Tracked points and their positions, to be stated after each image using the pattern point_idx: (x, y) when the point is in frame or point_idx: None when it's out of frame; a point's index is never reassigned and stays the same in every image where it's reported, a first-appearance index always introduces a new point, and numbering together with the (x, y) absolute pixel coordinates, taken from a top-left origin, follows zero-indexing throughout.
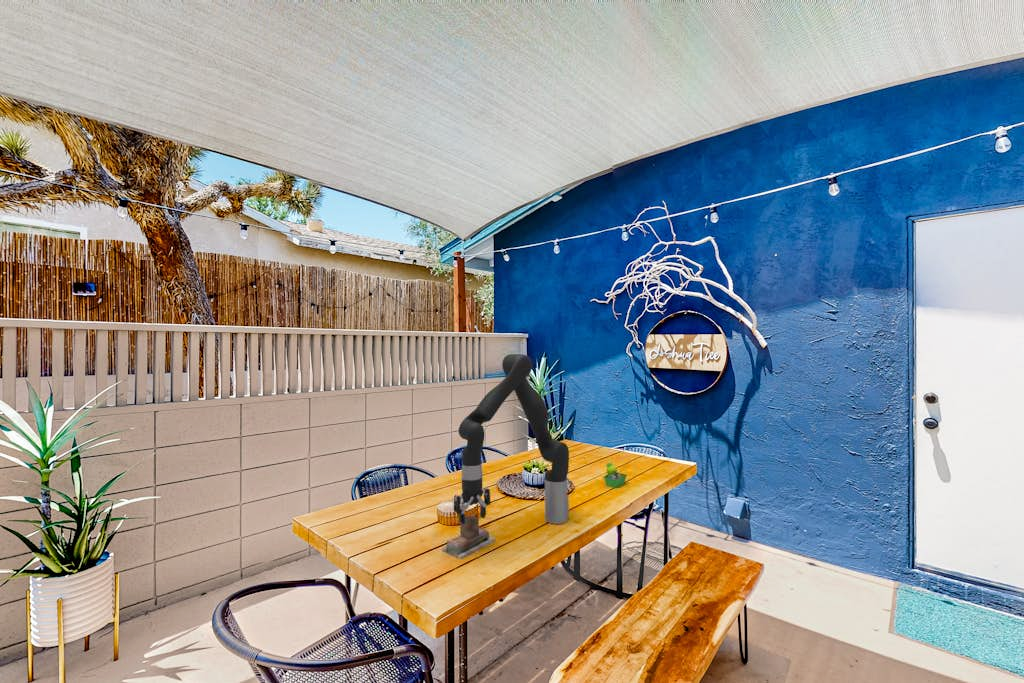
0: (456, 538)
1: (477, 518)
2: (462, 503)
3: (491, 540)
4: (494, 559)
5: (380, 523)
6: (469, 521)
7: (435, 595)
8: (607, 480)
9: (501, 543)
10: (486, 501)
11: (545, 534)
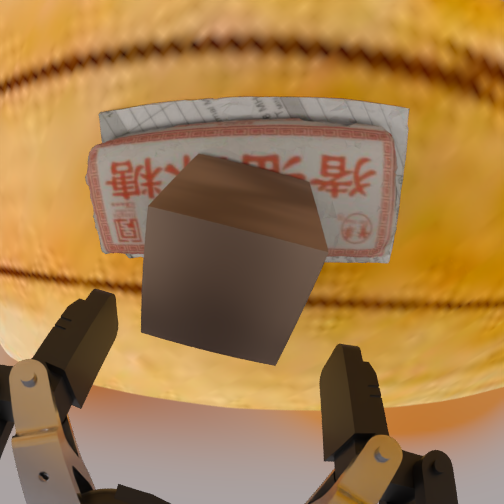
0: (143, 177)
1: (280, 352)
2: (29, 472)
3: (360, 261)
4: None
5: None
6: (174, 339)
7: (11, 323)
8: None
9: (377, 291)
10: (403, 496)
11: (495, 347)
